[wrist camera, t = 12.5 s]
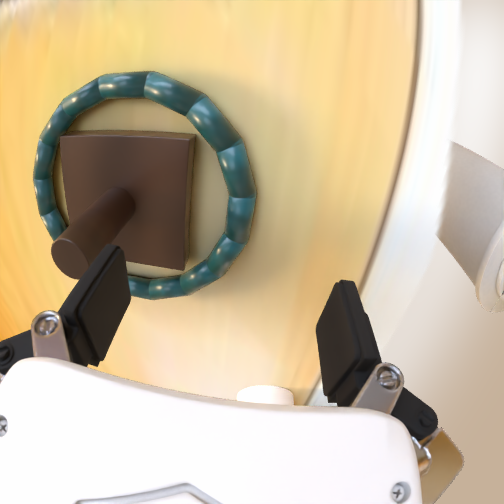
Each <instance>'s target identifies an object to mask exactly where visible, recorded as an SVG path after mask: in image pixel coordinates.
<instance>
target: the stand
mask: <svg viewBox="0 0 504 504" xmlns="http://www.w3.org/2000/svg"><path fill="white" fill-rule="evenodd" d="M195 138H196V135H195V134H185V133H172V132H155V131H126V130H96V131H72V132H69V133H67V134H65V135H62V136H60V150H61V163H62V173H63V182H64V190H65V197H66V203H67V210H68V215H69V221H70V226H69V227H68V228H67V229H66V230H65V231H64V232H63V233H62V234H61V235H60V236H59V237H58V238H57V239H56V240H55V241H54V242H53V244H52V247H51V254H52V258H53V260H54V262H55V264H56V265H57V267H58V268H59V269H60V270H61V271H62V272H63V273H64V274H65V275H67V276H69V277H71V278H73V279H80V278H81V277H82V275H83V274H84V273H85V272H86V271H87V270H88V268H89V267H90V265H91V264H92V263H93V261H94V260H95V259H96V257H97V256H98V255H99V253H100V252H101V251H102V249H103V248H104V247H105V246H106V245H107V244H112V245H118V246H120V247H121V250H124V254H125V261H129V262H134V263H140V264H146V265H152V266H158V267H164V268H170V269H176V270H182V271H184V269H185V266H186V264H187V261H188V257H189V226H190V205H191V188H192V174H193V161H194V149H195Z"/></svg>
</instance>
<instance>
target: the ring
mask: <svg viewBox="0 0 504 504" xmlns="http://www.w3.org/2000/svg"><path fill="white" fill-rule="evenodd" d="M118 98H147V99H150V100H152V101H154V102H156V103H158V104H161V105H163V106H165V107H167V108H169V109H171V110H173V111H175V112H178V113H180V114H182V115H184V116H186V117H187V118H188V120H189V121H190V122H191V123H192V124H193V125H194V127H195V128H196V129H197V130H198V131H199V132H200V134H201V135H202V136H203V137H204V138H205V140H206V141H207V142H208V143H209V144H210V145H211V147H212V148H213V149H214V150H215V151H216V153H217V156H218V160H219V163H220V166H221V169H222V173H223V176H224V179H225V182H226V186H227V189H228V192H229V200H228V208H227V216H226V225H225V232H224V233H223V235H222V237H221V238H220V240H219V241H218V243H217V244H216V246H215V248H214V249H213V251H212V252H211V254H210V256H209V257H208V259H206V260H205V261H203V262H201V263H200V264H198V265H197V266H195V267H194V268H192V269H190V270H189V271H187V272H186V273H184V274H183V275H177V276H171V277H165V278H160V279H154V280H152V279H147V278H141V277H136V276H130V275H128V281H129V287H130V293H131V296H134V297H139V298H144V299H150V300H158V299H165V298H173V297H180V296H187V295H191V294H193V293H195V292H196V291H198V290H200V289H202V288H203V287H205V286H207V285H209V284H210V283H212V282H214V281H216V280H217V279H219V278H221V277H222V276H224V275H225V273H226V272H227V271H228V269H229V268H230V266H231V265H232V264H233V262H234V261H235V259H236V258H237V257H238V255H239V254H240V252H241V251H242V249H243V248H244V247H245V245H246V244H247V242H248V240H249V236H250V230H251V224H252V219H253V213H254V207H255V201H256V195H257V191H256V187H255V183H254V179H253V175H252V172H251V168H250V164H249V160H248V157H247V153H246V149H245V146H244V142H243V139H242V138H241V136H240V135H239V134H238V133H237V131H236V130H235V129H234V128H233V126H232V125H231V124H230V123H229V122H228V120H227V119H226V118H225V117H224V115H223V114H222V113H221V112H220V111H219V109H218V108H217V107H216V106H215V105H214V103H213V102H212V101H211V100H210V99H209V98H208V96H207V95H205V94H204V93H202V92H200V91H198V90H196V89H194V88H192V87H190V86H187V85H185V84H183V83H181V82H179V81H176V80H174V79H172V78H170V77H167V76H165V75H163V74H160V73H158V72H155V71H144V72H125V73H113V74H105V75H102V76H100V77H98V78H96V79H95V80H93V81H91V82H89V83H88V84H86V85H84V86H83V87H81V88H80V89H78V90H76V91H75V92H73V93H72V94H70V95H69V96H67V97H66V98H65V99H63V100H62V102H61V103H60V105H59V106H58V108H57V109H56V111H55V112H54V114H53V115H52V117H51V118H50V120H49V121H48V123H47V125H46V126H45V128H44V130H43V131H42V133H41V135H40V138H39V142H38V147H37V153H36V158H35V164H34V171H33V181H34V188H35V193H36V199H37V204H38V209H39V214H40V217H41V219H42V220H43V222H44V224H45V226H46V228H47V230H48V232H49V234H50V236H51V237H52V239H53V241H55V240H56V239H57V238H58V237H59V236H60V235H61V234H62V233H63V232H64V231H65V230H66V229H67V226H66V224H65V222H64V220H63V218H62V216H61V214H60V212H59V210H58V208H57V205H56V199H55V193H54V186H53V179H52V171H53V166H54V161H55V156H56V152H57V147H58V143H59V141H60V136H62V135H64V134H65V132H66V131H67V130H68V128H69V127H70V125H71V124H72V122H73V121H74V120H75V118H76V117H77V116H78V115H80V114H81V113H83V112H85V111H86V110H88V109H90V108H92V107H94V106H95V105H97V104H99V103H101V102H103V101H105V100H107V99H118Z"/></svg>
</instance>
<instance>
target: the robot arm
mask: <svg viewBox="0 0 504 504" xmlns="http://www.w3.org/2000/svg"><path fill="white" fill-rule="evenodd" d="M496 290H497V293H498V295H499V296H500V298H501V299H502V300H503V301H504V259H503V261H502V264H501V266H500V269H499V272H498V276H497V281H496ZM130 301H131V293H130V287H129V281H128V275H127V268H126V262H125V254H124V250H121V247H120V246H118V245H112V244H107V245H106V246H105V247H104V248H103V249H102V251H101V252H100V253H99V255H98V256H97V257H96V259H95V260H94V261H93V263H92V264H91V265H90V267H89V268H88V270H87V271H86V272H85V273H84V274H83V275H82V277H81V278H80V280H79V281H78V283H77V284H76V285H75V287H74V288H73V290H72V291H71V293H70V294H69V296H68V297H67V299H66V300H65V302H64V303H63V305H62V306H61V308H60V309H59V311H58V313H57V312H55V311H51V310H48V311H43V312H41V313H39V314H38V315H37V316H36V317H35V318H34V319H33V321H32V324H31V330H28V331H26V332H23V333H21V334H18V335H16V336H13V337H11V338H8V339H6V340H3V341H1V342H0V504H434V503H435V502H436V501H437V500H438V498H439V497H440V496H441V495H442V494H443V493H444V491H445V490H446V489H447V488H448V486H449V485H450V484H451V483H452V482H453V480H454V479H455V477H456V476H457V475H458V474H459V472H460V471H461V470H462V468H463V466H464V456H463V454H462V452H461V451H460V450H459V449H458V447H457V446H456V445H455V444H454V442H453V441H452V440H451V438H450V437H449V436H448V435H447V434H446V432H445V431H444V430H443V428H442V427H441V428H438V427H437V425H438V419H437V415H436V413H435V412H434V410H433V409H432V408H431V407H429V406H428V405H426V404H425V403H424V402H422V401H421V400H420V399H419V398H417V397H416V396H414V395H413V394H412V393H411V392H409V391H408V390H407V389H406V388H404V387H403V385H404V377H403V374H402V372H401V371H400V370H399V368H397V367H396V366H395V365H393V364H391V363H386V362H385V363H382V361H381V357H380V354H379V350H378V347H377V343H376V340H375V337H374V333H373V330H372V327H371V324H370V321H369V317H368V315H367V314H366V313H365V312H364V309H363V306H362V303H361V300H360V297H359V294H358V291H357V288H356V285H355V283H354V282H353V281H348V280H340V281H339V283H335V285H334V287H333V289H332V292H331V294H330V296H329V299H328V301H327V303H326V305H325V307H324V310H323V312H322V314H321V316H320V318H319V320H318V323H317V325H316V336H317V343H318V351H319V358H320V367H321V375H322V384H323V392H324V395H325V396H327V398H328V403H337V406H338V407H327V406H298V405H279V404H266V403H255V402H246V401H237V400H229V399H222V398H215V397H208V396H202V395H196V394H191V393H185V392H180V391H175V390H170V389H166V388H161V387H157V386H152V385H148V384H144V383H140V382H136V381H132V380H129V379H125V378H121V377H118V376H114V375H111V374H107V373H104V372H101V371H97V370H94V369H91V368H88V367H87V366H88V364H90V365H93V366H96V367H98V365H99V362H100V361H103V360H104V358H105V356H106V354H107V351H108V349H109V347H110V344H111V342H112V340H113V338H114V336H115V333H116V331H117V329H118V327H119V325H120V322H121V320H122V318H123V316H124V314H125V312H126V310H127V308H128V306H129V304H130Z"/></svg>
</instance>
